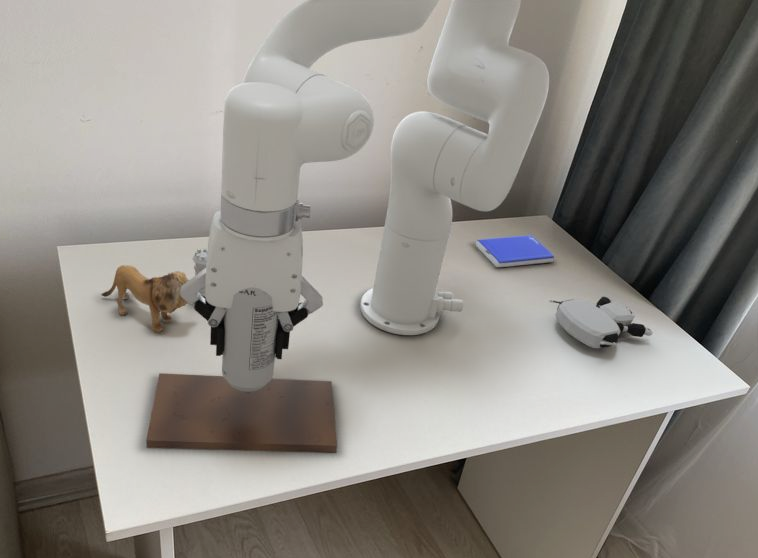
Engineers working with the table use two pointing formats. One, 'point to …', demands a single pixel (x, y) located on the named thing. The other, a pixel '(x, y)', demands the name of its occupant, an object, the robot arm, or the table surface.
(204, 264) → the rook chess piece
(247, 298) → the energy drink can
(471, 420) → the table surface
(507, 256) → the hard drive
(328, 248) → the table surface
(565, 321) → the robot toy
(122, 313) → the lion figurine
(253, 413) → the serving board
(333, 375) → the table surface
